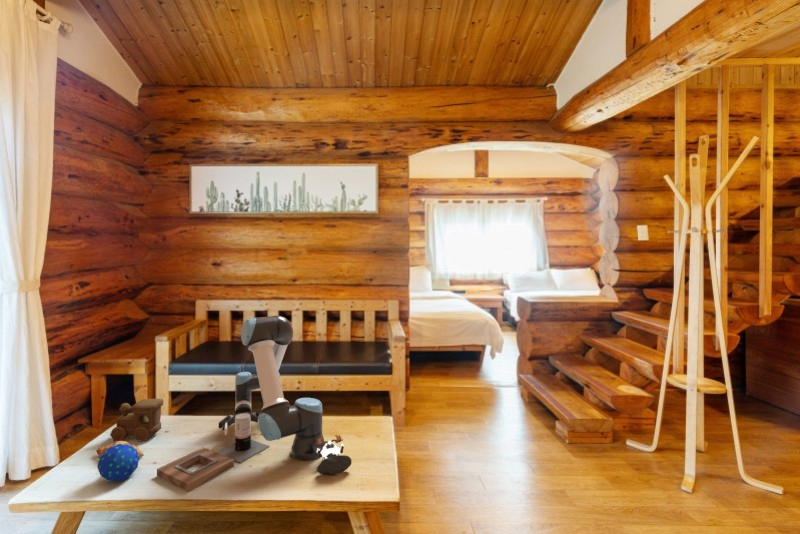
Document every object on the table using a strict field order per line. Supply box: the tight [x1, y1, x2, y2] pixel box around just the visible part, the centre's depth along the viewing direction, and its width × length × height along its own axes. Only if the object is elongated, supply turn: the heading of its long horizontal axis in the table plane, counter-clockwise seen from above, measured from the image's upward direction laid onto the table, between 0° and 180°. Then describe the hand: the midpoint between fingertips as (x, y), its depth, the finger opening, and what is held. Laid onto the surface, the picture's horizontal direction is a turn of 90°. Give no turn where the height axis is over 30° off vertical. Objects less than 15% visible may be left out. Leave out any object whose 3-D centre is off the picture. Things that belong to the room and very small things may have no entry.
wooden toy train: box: [109, 398, 164, 442], centre depth 191 cm, size 20×11×17 cm, turn 92°
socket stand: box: [156, 446, 235, 492], centre depth 163 cm, size 20×20×3 cm
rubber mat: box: [215, 439, 270, 464], centre depth 180 cm, size 16×16×1 cm
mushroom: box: [97, 443, 140, 483], centre depth 158 cm, size 14×14×15 cm
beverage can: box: [234, 413, 252, 452], centre depth 180 cm, size 7×7×15 cm
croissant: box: [95, 440, 144, 459], centre depth 174 cm, size 21×10×8 cm, turn 86°
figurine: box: [315, 434, 352, 476], centre depth 169 cm, size 14×10×18 cm
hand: (242, 429), depth 177 cm, fingers open, 13 cm apart
